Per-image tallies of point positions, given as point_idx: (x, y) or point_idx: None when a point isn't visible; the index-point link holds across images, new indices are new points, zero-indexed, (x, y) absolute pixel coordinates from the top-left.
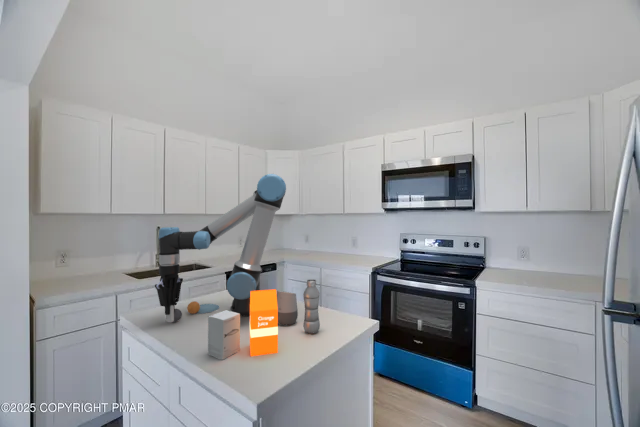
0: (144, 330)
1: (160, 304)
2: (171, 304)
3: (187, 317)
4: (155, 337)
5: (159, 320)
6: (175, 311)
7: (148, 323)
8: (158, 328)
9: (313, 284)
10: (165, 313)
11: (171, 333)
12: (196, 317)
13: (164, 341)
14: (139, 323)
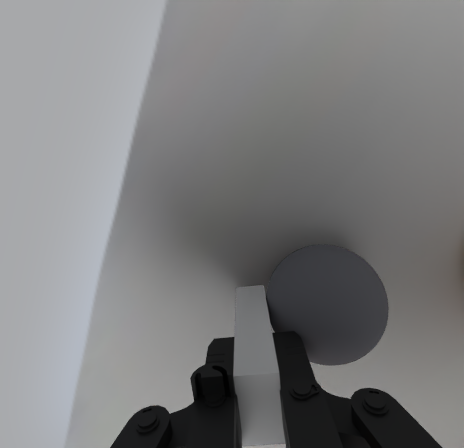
0: (115, 214)
1: (121, 437)
2: (282, 424)
3: (416, 291)
4: (82, 368)
5: (298, 138)
6: (313, 358)
7: (217, 112)
8: (179, 273)
9: None
10: (209, 352)
11: (159, 403)
12: (432, 349)
13: (75, 445)
14: (187, 33)
